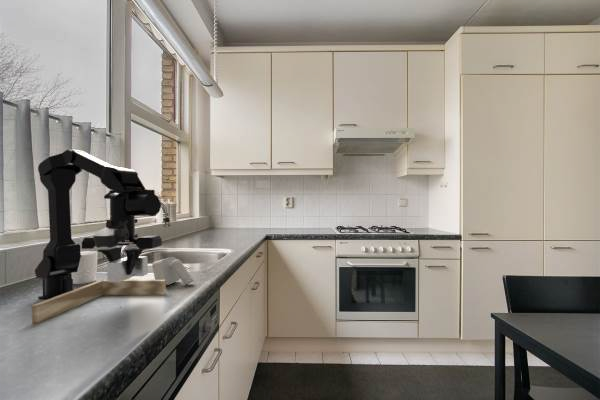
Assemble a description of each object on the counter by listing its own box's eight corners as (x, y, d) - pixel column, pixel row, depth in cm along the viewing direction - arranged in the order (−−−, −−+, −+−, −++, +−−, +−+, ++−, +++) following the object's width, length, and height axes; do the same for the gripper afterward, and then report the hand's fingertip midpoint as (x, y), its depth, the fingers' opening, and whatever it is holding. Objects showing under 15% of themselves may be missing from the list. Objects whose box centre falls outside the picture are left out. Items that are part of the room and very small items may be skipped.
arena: (32, 323, 70) (32, 305, 70) (101, 293, 93) (101, 279, 93) (117, 323, 70) (117, 305, 70) (165, 293, 92) (165, 279, 93)
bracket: (128, 273, 88) (128, 256, 88) (147, 273, 87) (147, 256, 87) (107, 282, 79) (107, 262, 79) (128, 282, 78) (128, 262, 78)
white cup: (102, 280, 108) (102, 252, 108) (76, 286, 102) (76, 255, 102) (91, 278, 113) (91, 250, 113) (65, 282, 106) (65, 253, 106)
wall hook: (186, 287, 97) (179, 255, 97) (158, 293, 99) (151, 262, 99) (200, 280, 104) (193, 251, 105) (173, 286, 106) (166, 258, 107)
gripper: (64, 217, 75) (64, 282, 75) (140, 217, 74) (140, 282, 74) (96, 215, 86) (96, 271, 86) (162, 215, 85) (162, 271, 85)
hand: (122, 274), depth 83 cm, fingers closed on bracket, 3 cm apart
